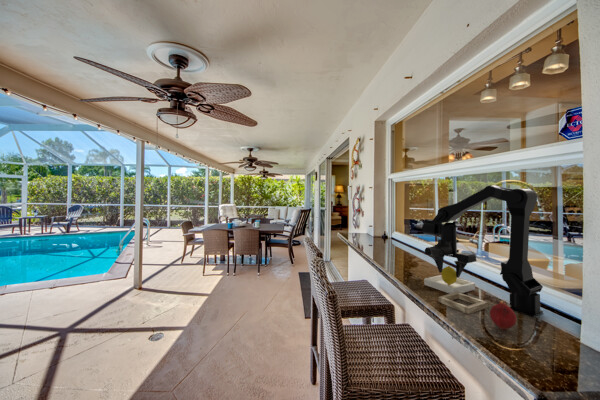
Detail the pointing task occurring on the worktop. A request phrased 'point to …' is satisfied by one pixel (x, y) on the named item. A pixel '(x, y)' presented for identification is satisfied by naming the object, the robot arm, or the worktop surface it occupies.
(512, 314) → the onion
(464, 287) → the dish
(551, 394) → the worktop surface
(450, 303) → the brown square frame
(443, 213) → the robot arm
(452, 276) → the lemon
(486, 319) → the worktop surface
